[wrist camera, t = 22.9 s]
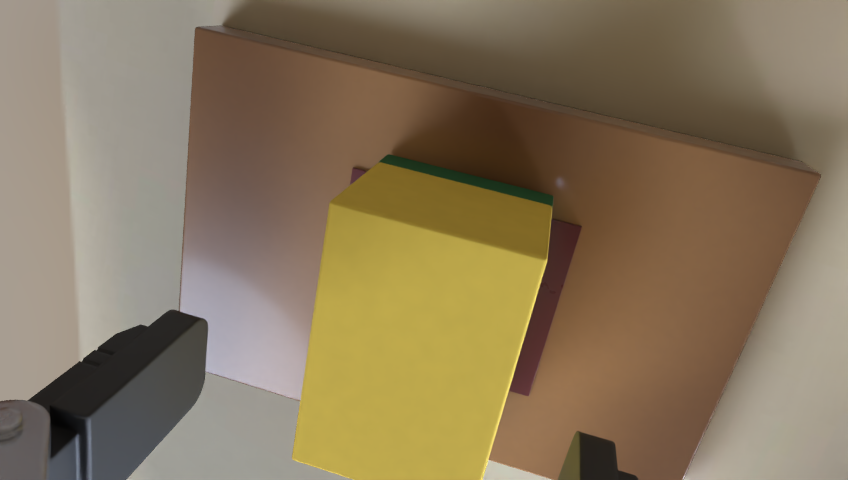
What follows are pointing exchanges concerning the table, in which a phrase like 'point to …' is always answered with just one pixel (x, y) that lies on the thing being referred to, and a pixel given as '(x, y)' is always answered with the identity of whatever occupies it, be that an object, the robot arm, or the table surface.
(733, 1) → the table surface
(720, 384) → the board
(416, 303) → the sponge
